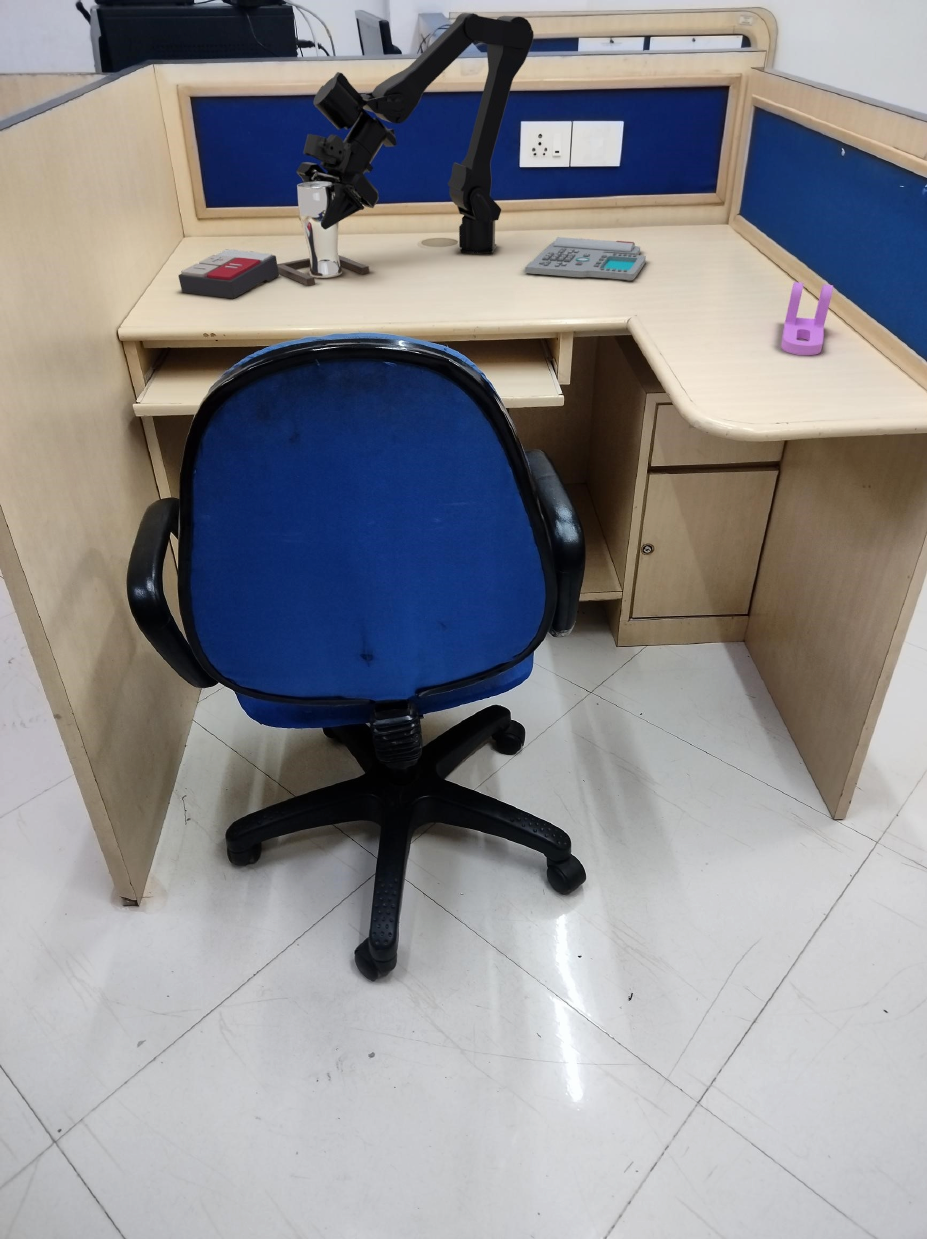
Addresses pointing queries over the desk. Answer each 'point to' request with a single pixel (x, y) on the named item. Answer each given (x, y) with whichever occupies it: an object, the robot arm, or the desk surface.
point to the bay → (289, 267)
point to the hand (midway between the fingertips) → (312, 224)
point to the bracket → (805, 323)
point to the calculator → (228, 273)
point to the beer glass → (319, 228)
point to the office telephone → (589, 259)
